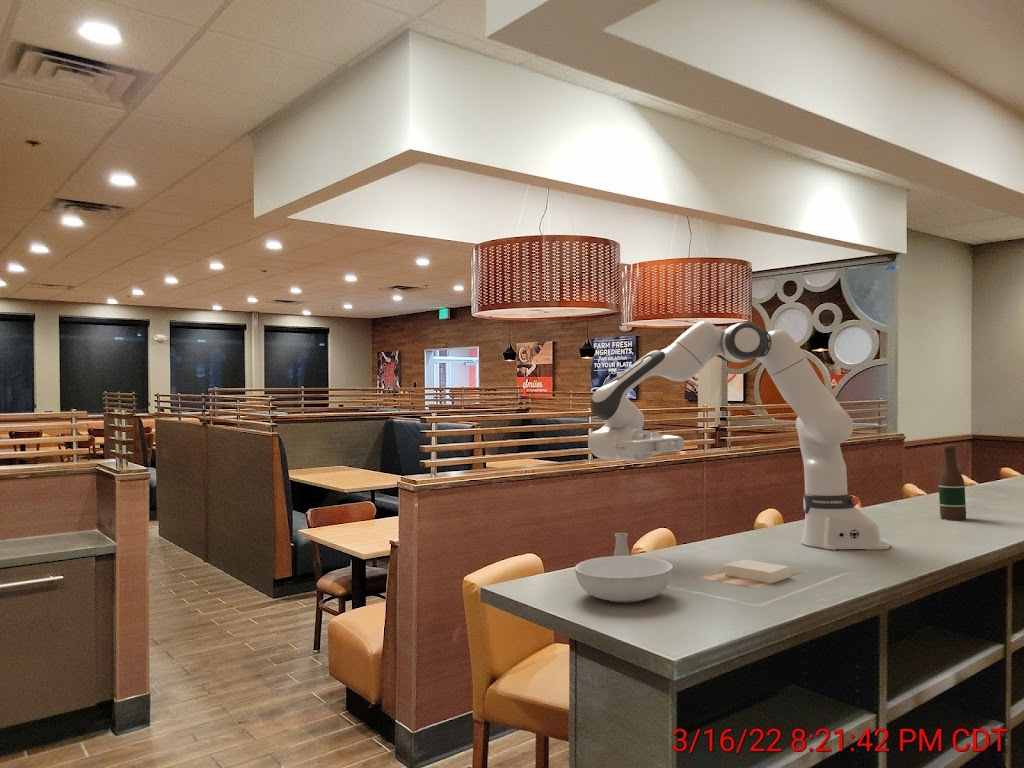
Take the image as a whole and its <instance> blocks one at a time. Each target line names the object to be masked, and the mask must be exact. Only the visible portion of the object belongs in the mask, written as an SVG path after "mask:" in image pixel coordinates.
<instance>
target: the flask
mask: <svg viewBox="0 0 1024 768" xmlns="http://www.w3.org/2000/svg"><path fill="white" fill-rule="evenodd" d="M628 536H629V534H628V533H627V532H617V533H614V537H615V547H614V552H613V556H632V555H631V554H630V550H629V546H628V545H629V544H628V539H627V538H628Z"/></svg>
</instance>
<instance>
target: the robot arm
mask: <svg viewBox="0 0 1024 768" xmlns="http://www.w3.org/2000/svg"><path fill="white" fill-rule="evenodd" d="M715 357H718V358H720V359H722V360H723V361H725V362H727V363H730V364H739V363H740V364H741V363H747V362H749V361H751V360H753V359H755V360H757V361H758V362H760V363H761V364H762V365H763V366H764V367H765V368H764V369H766V371H767V373H768V375H769V377H770V378H771V380H772V382H773V384H774V385H775V387H776V389H777V391H778V392H779V393H780V395H781V397H782V398H783V400H784V401H785V402H786V403H787V404H788V405H789V406H790V407H791V409H792V410H793V412H794V413H795V414H796V416H797V417H796V420H795V429H796V431H797V436H798V441H799V448H800V453H801V457H802V463H803V473H804V474H803V475H804V492H803V498H802V499H803V512H804V514H805V516H804V526H803V527H804V528H803V533H802V537H801V540H800V543H801V544H802V545H806V546H809V547H815V548H820V549H826V550H829V549H831V550H830V551H837V550H836V549H866V550H887V549H889V548H890V546H891V545H890V542H889V541H888V540H887V539H885V538H882V537H881V533H880V529H879V526H878V524H877V523H876V522H875V520H873V519H872V518H871V517H869V516H868V515H866V513H864V512H862V511H861V510H860V509H858V508H857V507H856V506H857V505H859V503H860V499H859V497H857V496H853V495H851V494H850V493H848V478H847V477H848V476H847V475H848V474H847V465H846V462H845V460H844V457H843V453H842V449H841V445H840V444H842V443H844V442H846V441H848V439H849V438H851V435H852V433H853V431H854V421H853V419H852V417H851V416H850V414H849V413H848V412H846V410H844V408H843V407H842V406H841V405H840V403H839V402H838V400H837V399H836V398H835V396H834V395H833V394H832V393H831V392H830V391H829V389H828V388H827V387H826V386H825V385H824V383H823V382H822V381H821V379H820V378H819V376H818V375H817V373H816V371H815V369H814V367H813V366H812V364H811V363H810V361H809V360H808V357H806V355H805V353H804V352H803V349H801V347H800V346H799V345H798V343H797V342H796V341H795V339H794V338H793V337H792V336H791V335H790V334H789V333H788V332H787V331H786V330H784V329H773V330H770V331H769V330H768V331H767V330H765V329H764V328H761V327H760V326H758V325H756V324H754V323H751V322H747V321H740V322H737V323H735V324H732V325H730V326H728V327H727V328H725V329H720V328H718V327H717V326H716V325H715V324H713V323H711V322H708V321H705V320H704V321H703V320H702V321H699V322H696V323H695V324H693V325H692V326H691V327H689V328H688V329H687V330H685V331H684V332H683V333H682V334H681V335H680V336H679V337H677V338H676V340H674V342H672V343H671V344H670V345H668V346H667V347H665V348H663V349H661V350H658V349H655V350H651V351H649V352H648V353H647V354H645V355H644V356H642V357H640V358H639V359H638V360H637V361H636V362H633V364H631V365H630V366H629V367H628V368H626V369H625V370H623V371H622V372H621V373H619V374H618V375H617V376H615V377H614V378H613V379H612V380H610V381H608V382H607V383H605V384H602V385H601V386H599V387H597V388H596V390H594V392H593V393H592V395H591V398H590V402H589V403H590V405H589V406H590V411H591V413H592V414H594V415H595V416H596V417H597V418H598V419H600V420H601V421H603V422H604V425H603V426H602V427H600V428H599V429H597V430H594V431H592V432H591V433H589V436H588V439H587V445H588V448H589V450H590V453H592V454H593V455H594V457H596V458H599V459H602V460H610V461H618V460H623V461H629V462H631V461H632V462H643V461H644V460H647V459H649V458H650V457H655V456H658V455H660V454H663V453H670V452H671V453H673V452H679V451H684V448H685V445H684V438H683V437H682V436H679V435H673V434H672V435H669V434H662V433H661V434H660V433H659V432H658V431H647V430H644V427H645V421H646V420H645V419H646V418H645V415H644V413H643V412H642V410H640V409H639V408H638V407H637V405H635V404H634V403H633V402H632V401H631V400H630V399H629V398H628V397H627V394H628V393H629V392H630V391H631V390H632V389H634V388H635V387H637V386H638V385H639V384H641V383H642V382H643V381H644V380H646V379H648V378H649V377H652V376H659V377H663V378H665V379H667V380H670V381H674V382H686V381H689V380H691V379H692V378H693V377H695V376H696V375H697V374H698V373H700V371H701V370H702V369H703V368H704V367H706V364H707V363H709V362H710V361H711V360H712V359H714V358H715Z"/></svg>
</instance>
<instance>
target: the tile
mask: <svg viewBox="0 0 1024 768" xmlns="http://www.w3.org/2000/svg"><path fill="white" fill-rule="evenodd" d="M723 568H725V575H727V576H733V577H738V578H744V579H749V580H755V581H760V582H766V583H770V584H774V583H777V582H780V581H783V580H787V579H789V578H791V577H790V571H791V570H790V566H788V565H780V564H775V563H770V562H761V561H756V560H749V559H740V560H737V561H732V562H729V563H726V564H724V567H723Z"/></svg>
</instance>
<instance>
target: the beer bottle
mask: <svg viewBox="0 0 1024 768" xmlns="http://www.w3.org/2000/svg"><path fill="white" fill-rule="evenodd" d="M942 449H943V450H944V452H943V453H944V459H943V460H944V464H943V470H942V472H941V473H940V475H939V478H938V500H939V513H940V515H939V516H940V518H941V520H944V519H946V520H945V521H957V522H958V521H966V520H967V519H966V518H967V507H966V506H967V505H966V486H965V479H964V477H963V475H962V474H961V472H960V471H959V469H958V468H959V467H958V464H957V457H956V456H957V455H956V450H957V448H956V445H953V444H952V445H950V444H949V445H947V444H946V445H944V446H943V448H942Z"/></svg>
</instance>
